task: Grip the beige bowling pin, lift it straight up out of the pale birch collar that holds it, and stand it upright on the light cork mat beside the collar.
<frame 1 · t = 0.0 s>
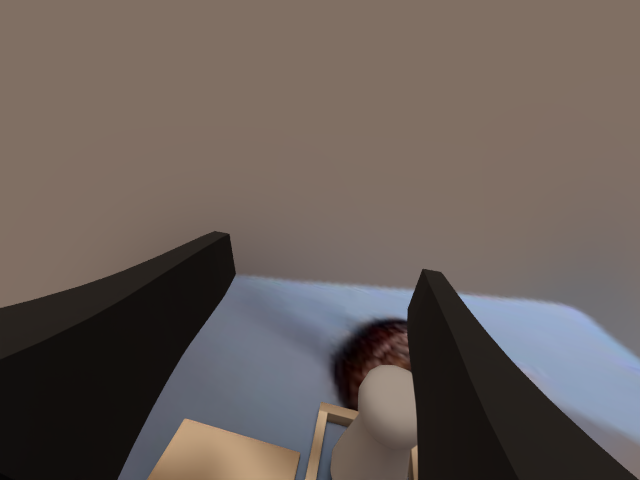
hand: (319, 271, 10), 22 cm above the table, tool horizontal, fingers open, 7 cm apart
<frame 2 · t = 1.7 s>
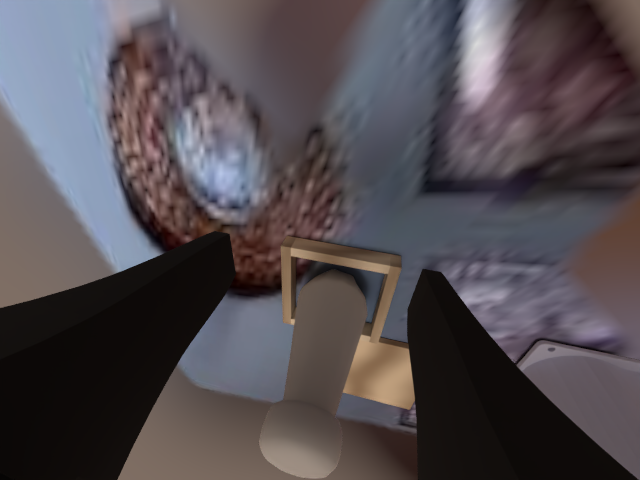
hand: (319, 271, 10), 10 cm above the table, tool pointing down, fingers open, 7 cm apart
cork mat: (371, 367, 29), on the table
beige bowling pin: (336, 285, 23), resting in birch collar
birch collar: (336, 287, 23), on the table
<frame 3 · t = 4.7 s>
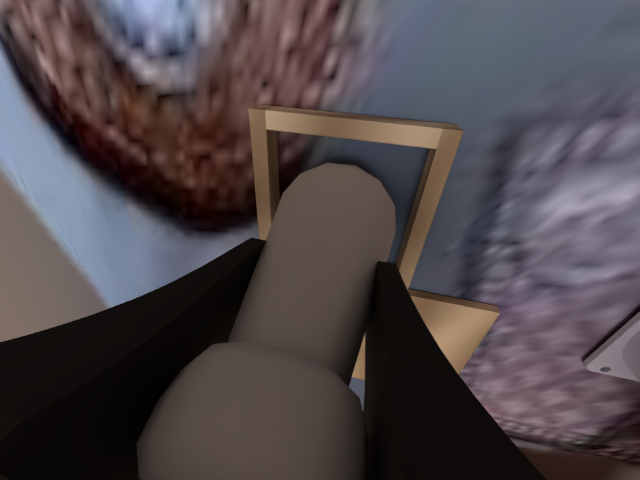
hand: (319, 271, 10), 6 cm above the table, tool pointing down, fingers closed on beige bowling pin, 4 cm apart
cork mat: (390, 339, 20), on the table
beige bowling pin: (343, 200, 15), resting in birch collar, touching gripper
birch collar: (342, 202, 15), on the table
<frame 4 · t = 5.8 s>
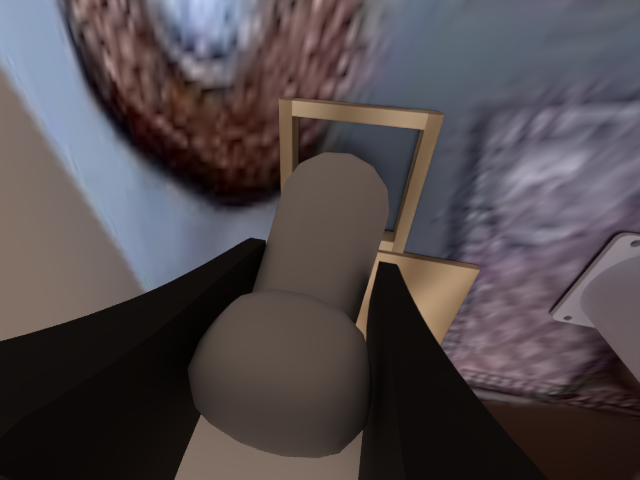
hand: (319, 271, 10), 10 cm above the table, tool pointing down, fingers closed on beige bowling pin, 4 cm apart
cork mat: (389, 300, 24), on the table
beige bowling pin: (340, 188, 16), point 2 cm above the table, touching gripper
birch collar: (350, 177, 18), on the table
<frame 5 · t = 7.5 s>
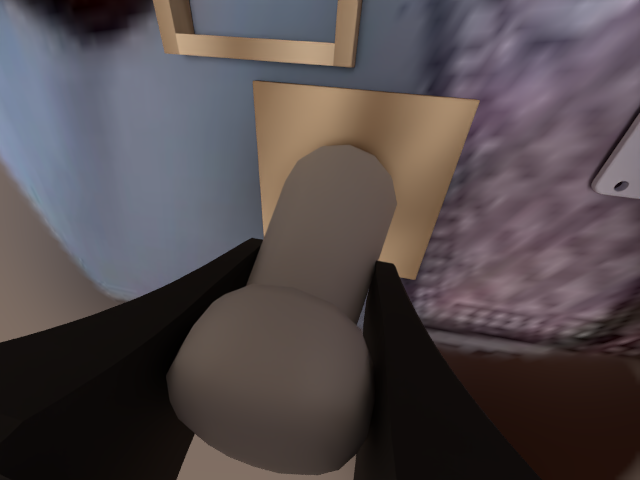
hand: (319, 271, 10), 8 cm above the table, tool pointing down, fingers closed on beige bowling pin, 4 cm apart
cork mat: (347, 191, 16), on the table
beige bowling pin: (344, 184, 15), resting on cork mat, touching gripper
when the fingers open (8 cm above the table, at t = 7.9 s): beige bowling pin stays where it is, resting on cork mat.
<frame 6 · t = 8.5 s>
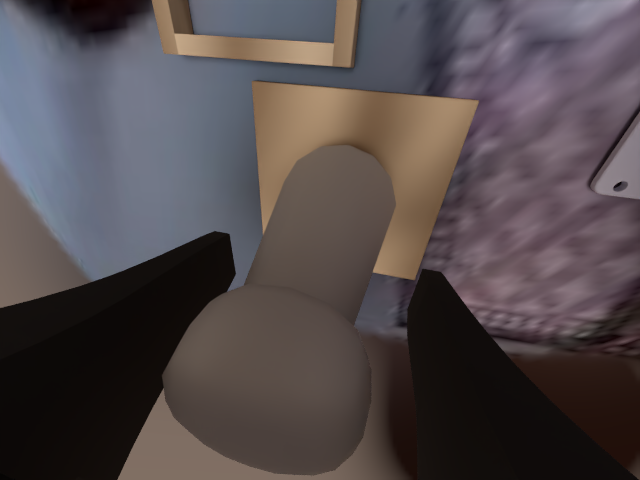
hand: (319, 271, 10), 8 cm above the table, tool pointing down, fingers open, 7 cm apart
cork mat: (346, 191, 16), on the table
beige bowling pin: (344, 184, 15), resting on cork mat
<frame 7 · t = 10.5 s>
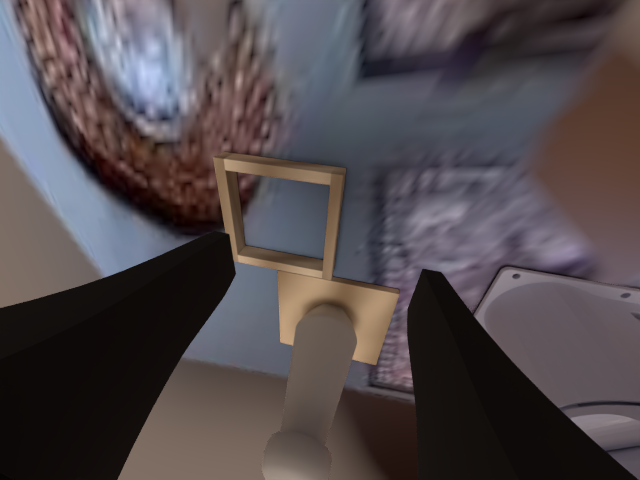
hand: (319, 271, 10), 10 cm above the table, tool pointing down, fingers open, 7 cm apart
cork mat: (332, 317, 27), on the table
beige bowling pin: (330, 316, 26), resting on cork mat
birch collar: (284, 215, 21), on the table
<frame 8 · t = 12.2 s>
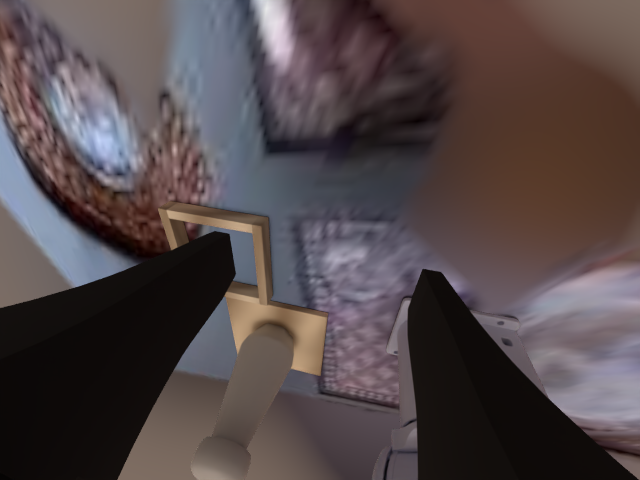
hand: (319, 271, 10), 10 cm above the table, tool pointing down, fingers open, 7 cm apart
cork mat: (278, 334, 30), on the table
beige bowling pin: (275, 334, 30), resting on cork mat
birch collar: (225, 251, 25), on the table
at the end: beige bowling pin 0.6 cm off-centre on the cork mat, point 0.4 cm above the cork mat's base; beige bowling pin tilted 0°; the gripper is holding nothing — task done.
